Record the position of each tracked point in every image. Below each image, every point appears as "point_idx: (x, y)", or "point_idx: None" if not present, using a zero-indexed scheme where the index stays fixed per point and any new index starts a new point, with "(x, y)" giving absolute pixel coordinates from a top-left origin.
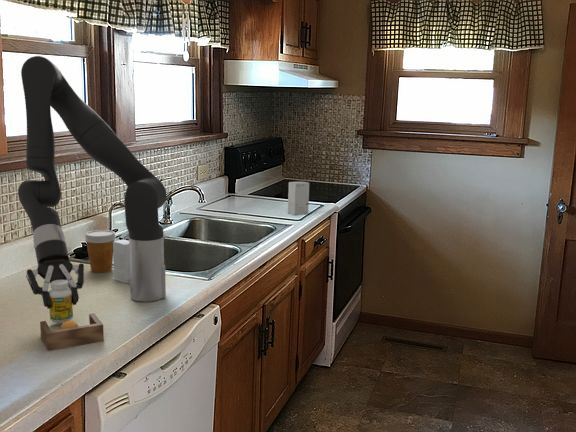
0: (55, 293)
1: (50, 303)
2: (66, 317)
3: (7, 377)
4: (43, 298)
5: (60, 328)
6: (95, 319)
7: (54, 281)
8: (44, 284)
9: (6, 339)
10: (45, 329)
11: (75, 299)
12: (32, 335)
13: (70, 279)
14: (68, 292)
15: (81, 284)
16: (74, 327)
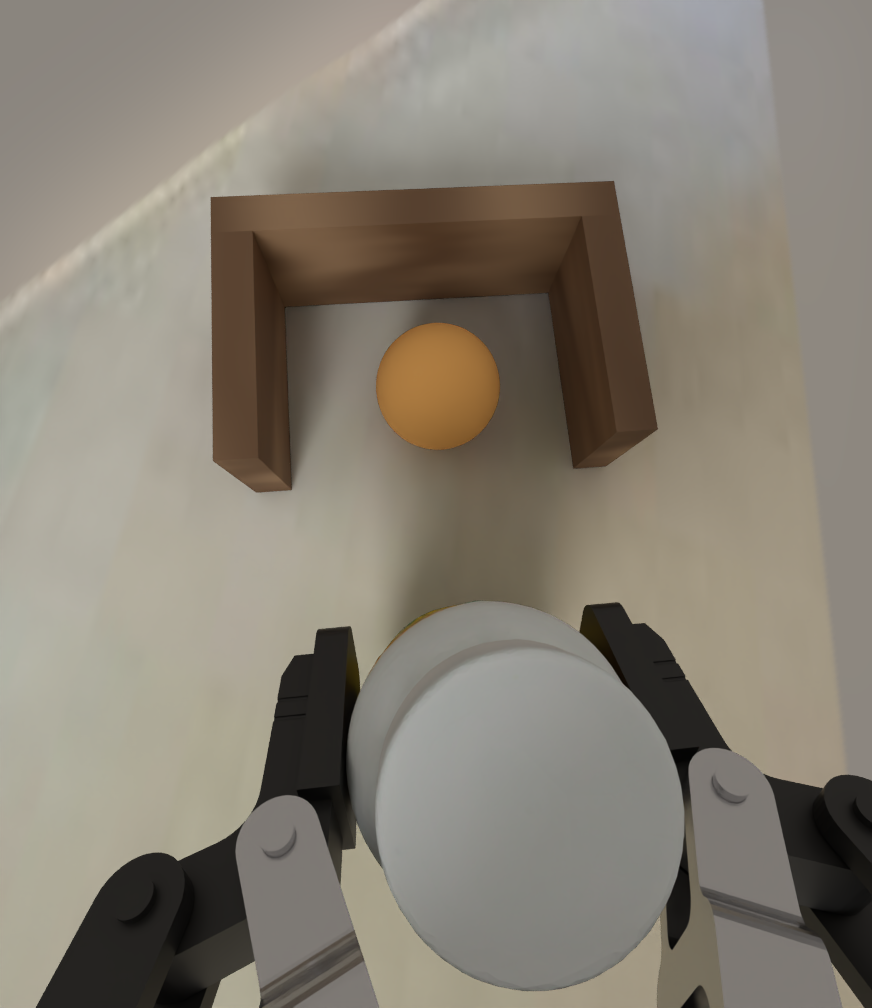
0: (570, 649)
1: (598, 609)
2: (431, 611)
3: (756, 56)
4: (689, 691)
5: (499, 387)
6: (239, 311)
7: (622, 892)
8: (776, 874)
9: (807, 522)
10: (620, 256)
11: (328, 638)
12: (655, 529)
13: (308, 971)
14: (398, 655)
15: (158, 855)
16: (420, 217)
